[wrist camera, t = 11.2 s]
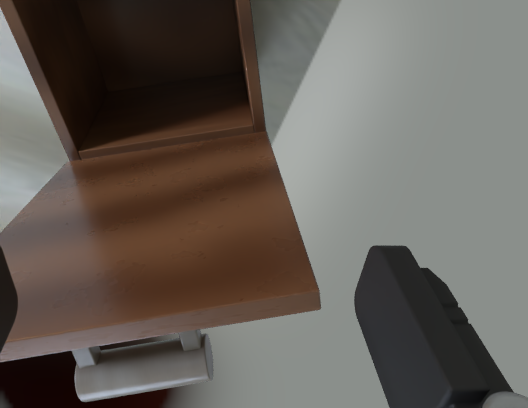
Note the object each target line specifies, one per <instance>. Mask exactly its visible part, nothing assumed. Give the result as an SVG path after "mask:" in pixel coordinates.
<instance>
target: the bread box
mask: <svg viewBox="0 0 528 408" xmlns="http://www.w3.org/2000/svg"><path fill="white" fill-rule="evenodd" d="M0 7H1V10H2V12H3V14H4V16H5V18H6V21H7V23H8V25H9V27H10V29H11V32H12V34H13V36H14V38H15V41H16V43H17V45H18V47H19V49H20V52H21V54H22V56H23V58H24V60H25V63H26V65H27V67H28V69H29V71H30V74H31V76H32V78H33V80H34V83H35V85H36V87H37V89H38V91H39V94H40V96H41V98H42V100H43V102H44V105H45V107H46V109H47V111H48V113H49V116H50V118H51V120H52V122H53V125H54V127H55V129H56V131H57V133H58V136H59V138H60V140H61V142H62V144H63V147H64V149H65V151H66V153H67V156H68V158H69V160H70V161H76V160H82V159H89V158H95V157H102V156H108V155H115V154H121V153H128V152H134V151H141V150H147V149H154V148H160V147H167V146H173V145H180V144H186V143H193V142H199V141H206V140H212V139H219V138H225V137H232V136H238V135H244V134H251V133H257V132H264V131H266V127H265V118H264V110H263V102H262V94H261V85H260V77H259V69H258V61H257V53H256V44H255V36H254V28H253V20H252V11H251V3H250V0H0Z"/></svg>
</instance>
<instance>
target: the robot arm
mask: <svg viewBox="0 0 528 408" xmlns="http://www.w3.org/2000/svg"><path fill="white" fill-rule="evenodd" d="M354 301H355V312H356V316H357V319H358V322H359V324H360V327H361V329H362V332H363V335H364V338H365V341H366V343H367V346H368V349H369V352H370V355H371V357H372V360H373V363H374V366H375V368H376V371H377V374H378V377H379V380H380V382H381V385H382V388H383V391H384V393H385V396H386V399H387V401H388V404H389V407H390V408H528V398H527V397H525V396H523V395H520V394H517V393H514V392H513V390H512V389H511V387H510V386H509V384H508V383H507V381H506V380H505V378H504V376H503V375H502V373H501V372H500V370H499V369H498V367H497V365H496V364H495V362H494V360H493V359H492V357H491V356H490V354H489V353H488V351H487V349H486V348H485V346H484V345H483V343H482V341H481V339H480V338H479V336H478V335H477V333H476V331H475V330H474V328H473V327H472V325H471V324H469V323H468V319H467V317H466V316H465V314H464V312H463V311H462V309H461V308H459V307H458V303H457V301H456V299H455V298H454V296H453V295H452V293H451V292H450V290H449V288H448V286H447V285H446V284H445V283H444V282H443V281H442V280H441V279H440V278H438V277H437V276H436V275H435V274H434V273H433V272H432V271H431V270H429V269H428V268H420V267H419V266H418V263H417V262H416V260H415V258H414V257H413V255H412V253H411V251H410V250H409V249H408V248H407V247H406V246H372V247H371V248H370V250H369V252H368V255H367V258H366V261H365V264H364V267H363V270H362V273H361V276H360V279H359V281H358V284H357V288H356V291H355V299H354ZM17 309H18V296H17V291H16V288H15V285H14V282H13V279H12V276H11V274H10V271H9V268H8V265H7V262H6V259H5V256H4V253H3V250H2V248H1V246H0V353H1V351H2V349H3V347H4V344H5V342H6V340H7V338H8V335H9V333H10V331H11V329H12V326H13V324H14V322H15V319H16V315H17Z"/></svg>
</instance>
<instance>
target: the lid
mask: <svg viewBox="0 0 528 408" xmlns="http://www.w3.org/2000/svg"><path fill="white" fill-rule="evenodd" d="M0 246H1V248H2V250H3V253H4V256H5V259H6V262H7V265H8V268H9V271H10V274H11V276H12V279H13V282H14V285H15V288H16V291H17V296H18V309H17V315H16V319H15V322H14V324H13V326H12V329H11V331H10V333H9V335H8V338H7V340H6V342H5V344H4V347H3V349H2V351H1V353H0V362H4V361H10V360H15V359H22V358H28V357H34V356H40V355H47V354H53V353H59V352H65V351H72V353H73V355H74V357H75V360H76V361H77V365H76V370H75V387H76V392H77V395H78V397H79V398H80V400H81V401H83V402H88V401H94V400H100V399H105V398H112V397H118V396H123V395H130V394H136V393H141V392H148V391H153V390H160V389H166V388H172V387H178V386H183V385H189V384H196V383H201V382H208V381H211V380H212V379H213V355H212V349H211V343H210V339H209V337H208V335H207V334H201V331H200V329H205V328H211V327H217V326H223V325H229V324H235V323H242V322H248V321H254V320H260V319H266V318H271V317H278V316H284V315H290V314H296V313H302V312H308V311H315V310H320V309H321V304H320V292H319V288H318V285H317V282H316V279H315V276H314V273H313V270H312V267H311V264H310V261H309V258H308V255H307V252H306V249H305V246H304V243H303V240H302V237H301V234H300V231H299V228H298V225H297V222H296V219H295V216H294V213H293V210H292V207H291V204H290V201H289V198H288V195H287V192H286V189H285V186H284V183H283V180H282V177H281V174H280V171H279V168H278V165H277V162H276V159H275V156H274V153H273V150H272V147H271V144H270V141H269V138H268V135H267V132H266V131H264V132H257V133H251V134H244V135H238V136H232V137H225V138H219V139H212V140H206V141H199V142H193V143H186V144H180V145H173V146H167V147H160V148H154V149H147V150H141V151H134V152H128V153H121V154H115V155H108V156H102V157H95V158H89V159H82V160H76V161H69V162H67V163H66V164H65V165H64V166H63V167H62V168H61V169H60V170H59V171H58V172H57V173H56V174H55V175H54V176H53V177H52V179H51V180H50V181H49V182H48V183H47V184H46V185H45V186H44V187H43V188H42V189H41V190H40V191H39V192H38V193H37V194H36V196H35V197H34V198H33V199H32V200H31V201H30V202H29V203H28V204H27V205H26V206H25V207H24V208H23V209H22V210H21V211H20V213H19V214H18V215H17V216H16V217H15V218H14V219H13V220H12V221H11V222H10V223H9V224H8V225H7V226H6V227H5V228H4V230H3V231H2V232H1V233H0ZM175 333H178V334H179V337H180V338H176V339H170V340H164V341H158V342H151V343H145V344H139V345H134V346H128V347H121V348H115V349H109V350H103V351H100V348H99V346H101V345H107V344H114V343H120V342H126V341H132V340H138V339H144V338H150V337H156V336H162V335H169V334H175Z"/></svg>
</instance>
